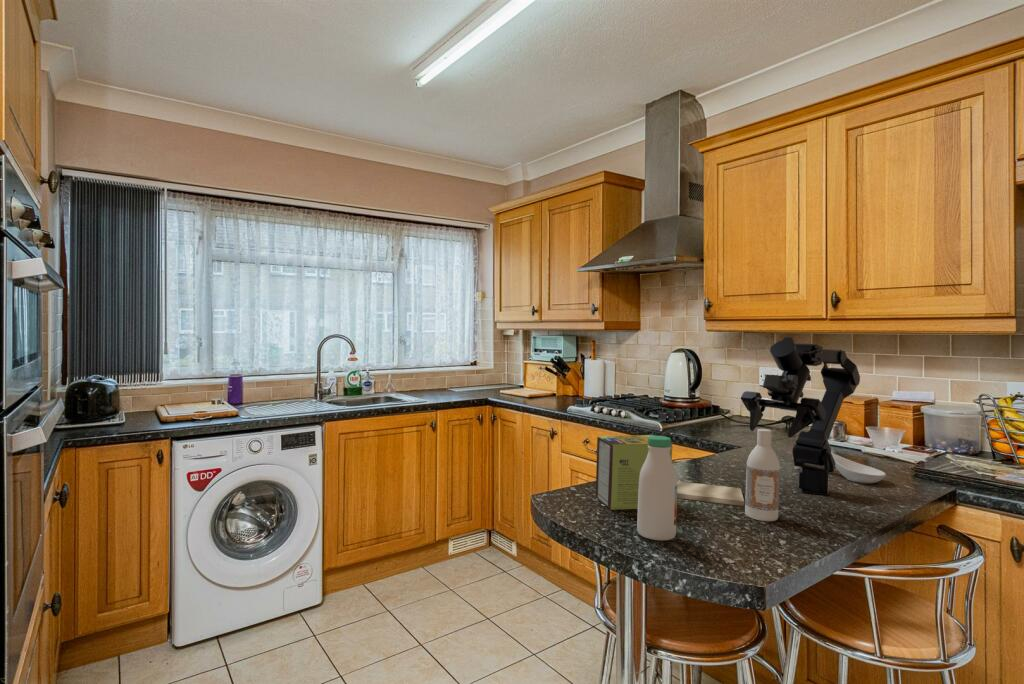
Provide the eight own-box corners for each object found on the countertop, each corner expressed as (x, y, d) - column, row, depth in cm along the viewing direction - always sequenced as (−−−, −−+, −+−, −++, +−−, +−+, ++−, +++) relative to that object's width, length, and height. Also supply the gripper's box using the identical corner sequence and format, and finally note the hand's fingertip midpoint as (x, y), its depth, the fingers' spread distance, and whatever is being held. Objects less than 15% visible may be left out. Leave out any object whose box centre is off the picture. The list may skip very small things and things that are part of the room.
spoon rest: (889, 482, 159) (891, 458, 159) (879, 490, 151) (880, 464, 151) (803, 466, 176) (803, 444, 176) (789, 472, 168) (790, 449, 168)
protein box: (671, 508, 129) (673, 442, 129) (610, 510, 126) (612, 443, 125) (651, 494, 139) (653, 434, 139) (594, 496, 136) (596, 435, 136)
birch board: (740, 492, 143) (740, 488, 143) (744, 506, 132) (744, 501, 132) (676, 485, 148) (677, 481, 148) (675, 497, 137) (675, 493, 137)
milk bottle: (669, 544, 106) (673, 442, 106) (631, 535, 110) (634, 437, 110) (680, 533, 112) (683, 436, 112) (643, 525, 117) (647, 432, 116)
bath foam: (746, 519, 122) (749, 431, 122) (743, 510, 129) (746, 426, 128) (780, 523, 120) (784, 433, 120) (775, 514, 126) (778, 428, 126)
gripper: (744, 360, 140) (720, 407, 134) (821, 364, 126) (798, 418, 120) (759, 387, 146) (737, 434, 140) (835, 394, 131) (814, 447, 125)
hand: (769, 433), depth 131 cm, fingers open, 9 cm apart
